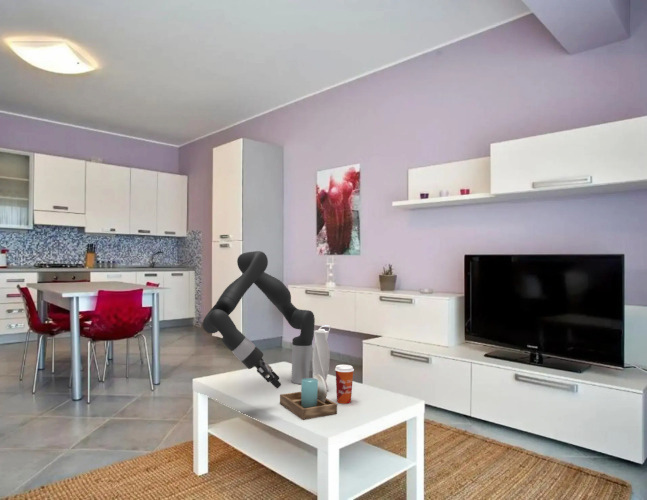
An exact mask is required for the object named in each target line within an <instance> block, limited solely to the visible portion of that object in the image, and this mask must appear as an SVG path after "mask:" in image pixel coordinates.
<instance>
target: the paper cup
mask: <svg viewBox="0 0 647 500" xmlns="http://www.w3.org/2000/svg"><path fill="white" fill-rule="evenodd" d="M334 371H335V383H336V384H335V385H336V386H335V387H336V388H335V389H336V402H337V403H338V404H343V405H347V404H350V403H351V402H352V395H353V381H354V380H353V378H354V377H353V376H354V371H355V369H354V367H353V366H352V365H350V364H337V365H336V366H335V368H334Z"/></svg>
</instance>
